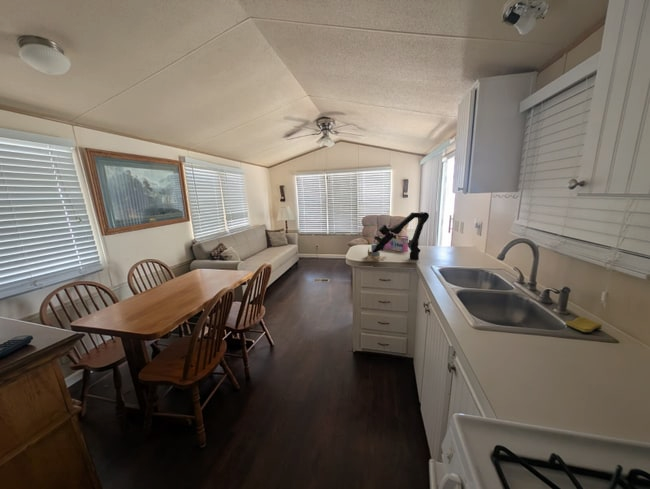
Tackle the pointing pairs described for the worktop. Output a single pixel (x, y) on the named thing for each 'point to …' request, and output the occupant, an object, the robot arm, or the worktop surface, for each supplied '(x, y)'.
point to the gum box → (398, 243)
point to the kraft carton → (376, 257)
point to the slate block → (373, 249)
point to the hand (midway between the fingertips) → (373, 251)
